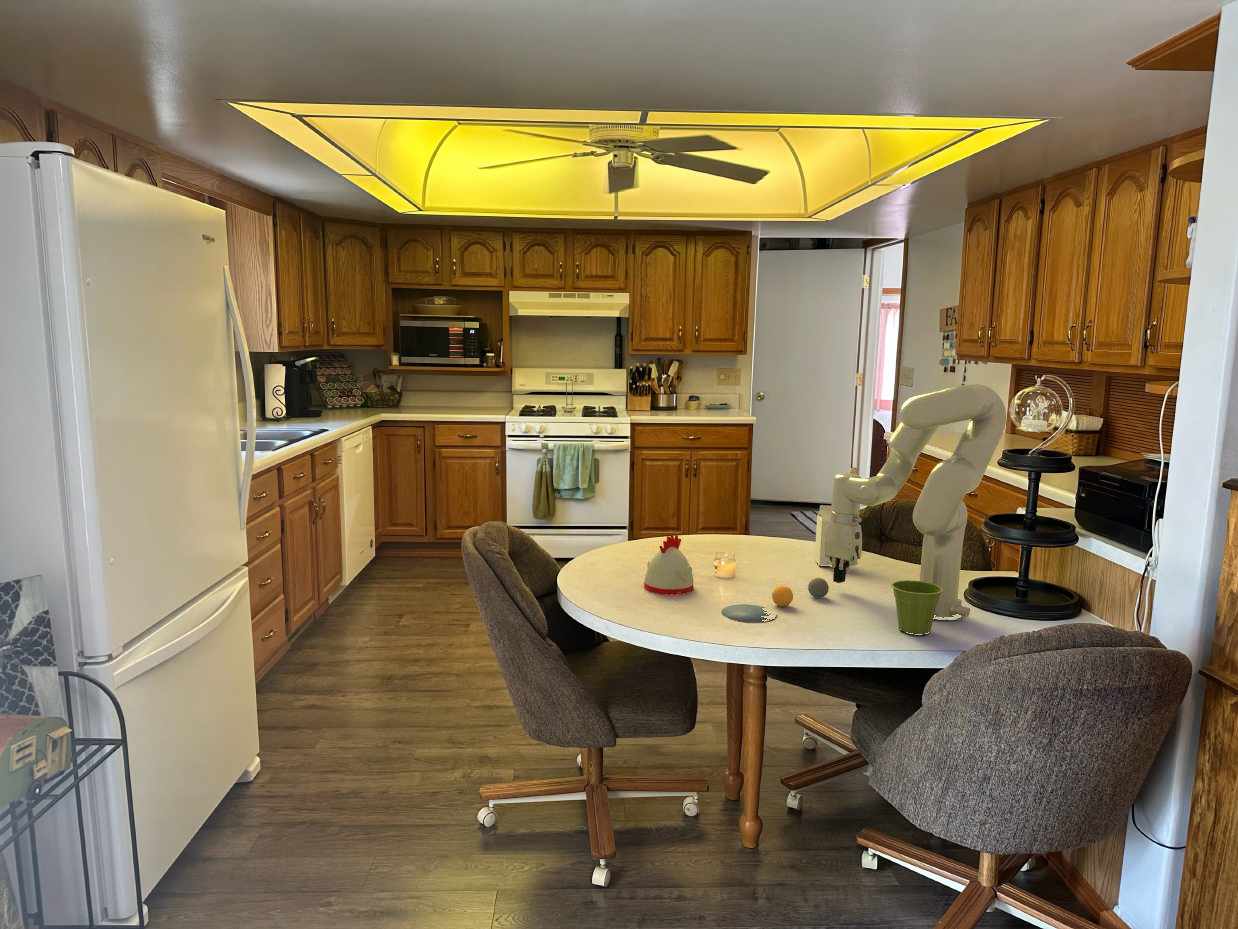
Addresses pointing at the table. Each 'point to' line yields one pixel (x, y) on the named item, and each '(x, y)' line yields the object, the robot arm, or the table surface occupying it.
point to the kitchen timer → (669, 570)
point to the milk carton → (822, 534)
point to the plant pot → (915, 605)
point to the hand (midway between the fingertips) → (838, 581)
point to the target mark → (745, 613)
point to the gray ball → (818, 587)
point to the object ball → (782, 595)
